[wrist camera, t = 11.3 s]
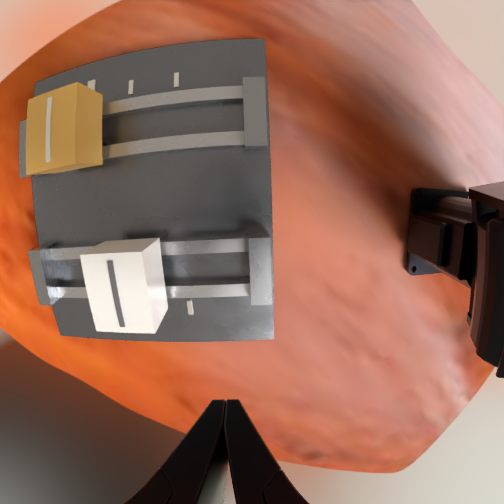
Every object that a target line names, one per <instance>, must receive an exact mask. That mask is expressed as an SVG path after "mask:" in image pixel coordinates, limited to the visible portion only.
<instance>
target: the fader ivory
mask: <svg viewBox="0 0 504 504" xmlns="http://www.w3.org/2000/svg"><path fill="white" fill-rule="evenodd" d="M80 259H81V264H82V270H83V275H84V280H85V285H86V290H87V295H88V299H89V303H90V308H91V312H92V316H93V320H94V324H95V327H96V331H101V332H120V333H152V334H155V333H156V331H157V329H158V327H159V325H160V323H161V321H162V319H163V317H164V315H165V313H166V312H167V310H168V303H167V296H166V289H165V281H164V274H163V266H162V257H161V248H160V239H159V238H147V239H130V240H114V241H104V242H102V243H100V244H99V245H97V246H95V247H93V248H91V249H89V250H88V251H86V252H84V253H82V254H80Z"/></svg>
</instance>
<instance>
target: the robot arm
mask: <svg viewBox="0 0 504 504" xmlns="http://www.w3.org/2000/svg"><path fill="white" fill-rule="evenodd" d="M417 192H419V197H418V198H417ZM468 196H469V199H468ZM407 250H408V255H407V265H406V271H407V272H408V273H409V274H410V275H422V274H432V273H444V274H446V275H448V276H450V277H451V278H453V279H455V280H456V281H458V282H460V283H462V284H463V285H465V286H467V287H469V288H470V289H471V297H470V307H469V312H468V313H467V322H468V324H469V326H470V337H471V339H472V341H473V343H474V345H475V347H476V354H477V355H478V356H480V357H481V358H482V359H483V360H484V361H485V362H487V363H489V364H491V365H492V366H494V367H497V368H498V369H497V372H496V376H497V377H499V378H504V182H498V183H492V184H487V185H481V186H476V187H470V188H469V192H466V191H455V190H443V189H430V188H414V189H413V190H412V192H411V211H410V217H409V231H408V244H407ZM413 266H414V269H413V270H412V271H411V269H412V267H413ZM228 462H229V466H230V472H231V478H232V484H233V489H234V495H235V500H236V504H309V503H308V502H307V501H306V500H305V499H304V498H303V497H302V495H301V494H300V493H299V492H298V491H297V490H296V489H295V487H294V486H293V485H292V483H291V482H290V481H289V479H288V478H287V476H286V475H285V473H284V472H283V471H282V470H281V468H280V466H279V464H278V463H277V461H276V460H275V458H274V457H273V455H272V453H271V452H270V450H269V449H268V447H267V445H266V444H265V442H264V441H263V439H262V437H261V436H260V434H259V432H258V431H257V429H256V428H255V426H254V424H253V423H252V421H251V419H250V417H249V416H248V414H247V412H246V411H245V409H244V407H243V405H242V404H241V402H240V400H238V399H230V400H226V401H225V400H212V401H211V403H210V404H209V405H208V407H207V408H206V409H205V411H204V412H203V413H202V415H201V416H200V417H199V418H198V420H197V421H196V422H195V424H194V425H193V426H192V428H191V429H190V430H189V431H188V433H187V434H186V435H185V437H184V438H183V439H182V440H181V442H180V443H179V444H178V445H177V447H176V448H175V449H174V451H173V452H172V453H171V454H170V456H169V457H168V458H167V459H166V461H165V462H164V463H163V464H162V466H161V467H160V469H158V470H157V471H156V472H155V474H154V475H153V476H152V477H151V478H150V479H149V481H148V482H147V483H146V484H145V485H144V486H143V487H142V488H141V489H140V490H139V491H138V492H137V493H136V494H135V495H133V496H132V497H131V498H130V499H129V500H128V501H127V502H125V503H124V504H223V501H224V494H225V485H226V478H227V471H228Z"/></svg>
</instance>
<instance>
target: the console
mask: <svg viewBox="0 0 504 504" xmlns="http://www.w3.org/2000/svg"><path fill="white" fill-rule="evenodd" d="M76 82H79V83H81V84H83V85H85V86H87V87H89V88H91V89H92V90H94V91H96V92H98V93H100V94H102V95H103V105H102V159H103V165H97V166H91V167H86V168H80V169H75V170H70V171H65V172H60V173H53V174H35V175H26V123H27V119H26V120H24V121H21V122H20V130H19V175H20V178H31V177H32V189H33V202H34V212H35V221H36V229H37V236H38V242H39V246H38V247H35V248H33V249H31V250H28V255H29V260H30V265H31V270H32V275H33V279H34V284H35V288H36V292H37V296H38V300H39V304H40V305H52V308H53V311H54V315H55V318H56V322H57V325H58V328H59V332H60V335H62V336H72V337H84V338H96V339H111V340H131V341H163V342H211V341H244V340H265V339H274V288H273V230H272V192H271V161H270V134H269V110H268V89H267V70H266V52H265V39H228V40H213V41H202V42H192V43H184V44H176V45H169V46H163V47H157V48H151V49H146V50H141V51H136V52H132V53H127V54H123V55H119V56H115V57H111V58H107V59H103V60H100V61H96V62H93V63H89V64H86V65H83V66H80V67H76V68H73V69H71V70H68V71H65V72H62V73H59V74H56V75H54V76H51V77H49V78H46V79H44V80H41V81H39V82H36V83H35V88H34V97H36V96H39V95H41V94H44V93H47V92H49V91H52V90H55V89H58V88H61V87H64V86H67V85H70V84H73V83H76ZM147 238H159V239H160V248H161V257H162V266H163V274H164V281H165V289H166V296H167V303H168V310H167V312H166V313H165V315H164V317H163V319H162V321H161V323H160V325H159V327H158V329H157V331H156V333H155V334H152V333H120V332H101V331H96V327H95V324H94V320H93V316H92V312H91V308H90V303H89V299H88V295H87V290H86V285H85V280H84V275H83V270H82V264H81V259H80V254H82V253H84V252H86V251H88V250H89V249H91V248H93V247H95V246H97V245H99V244H100V243H102V242H104V241H114V240H130V239H147Z"/></svg>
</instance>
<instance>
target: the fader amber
mask: <svg viewBox="0 0 504 504" xmlns="http://www.w3.org/2000/svg"><path fill="white" fill-rule="evenodd" d="M102 105H103V95H102V94H100V93H98V92H96V91H94V90H92V89H91V88H89V87H87V86H85V85H83V84H81V83H79V82H76V83H73V84H70V85H67V86H64V87H61V88H58V89H55V90H52V91H49V92H47V93H44V94H41V95H39V96H36V97H34V98H31V99H29V100H28V107H27V123H26V175H35V174H53V173H60V172H65V171H70V170H75V169H80V168H86V167H91V166H97V165H103V159H102Z"/></svg>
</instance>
